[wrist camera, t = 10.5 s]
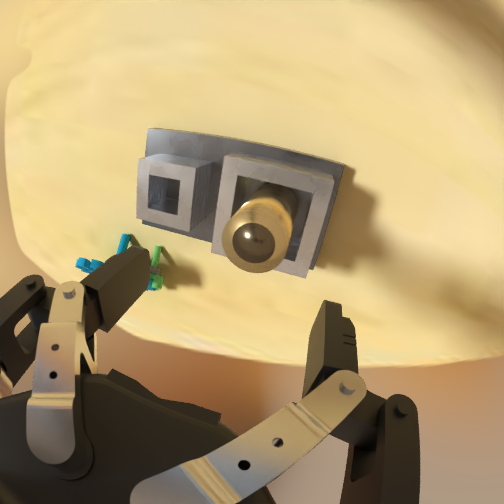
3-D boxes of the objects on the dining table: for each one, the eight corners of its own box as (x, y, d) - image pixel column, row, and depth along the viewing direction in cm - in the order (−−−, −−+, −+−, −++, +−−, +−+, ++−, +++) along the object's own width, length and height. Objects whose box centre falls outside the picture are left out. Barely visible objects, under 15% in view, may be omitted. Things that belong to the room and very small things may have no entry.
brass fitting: (256, 178, 23) (225, 204, 16) (302, 189, 22) (294, 221, 15) (248, 221, 24) (217, 263, 17) (291, 232, 24) (278, 280, 17)
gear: (99, 284, 33) (57, 264, 23) (110, 243, 35) (73, 213, 25) (172, 301, 33) (145, 286, 23) (182, 256, 34) (160, 225, 25)
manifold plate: (154, 127, 24) (125, 131, 20) (342, 163, 21) (349, 171, 17) (148, 219, 28) (122, 236, 24) (313, 264, 26) (311, 290, 22)
